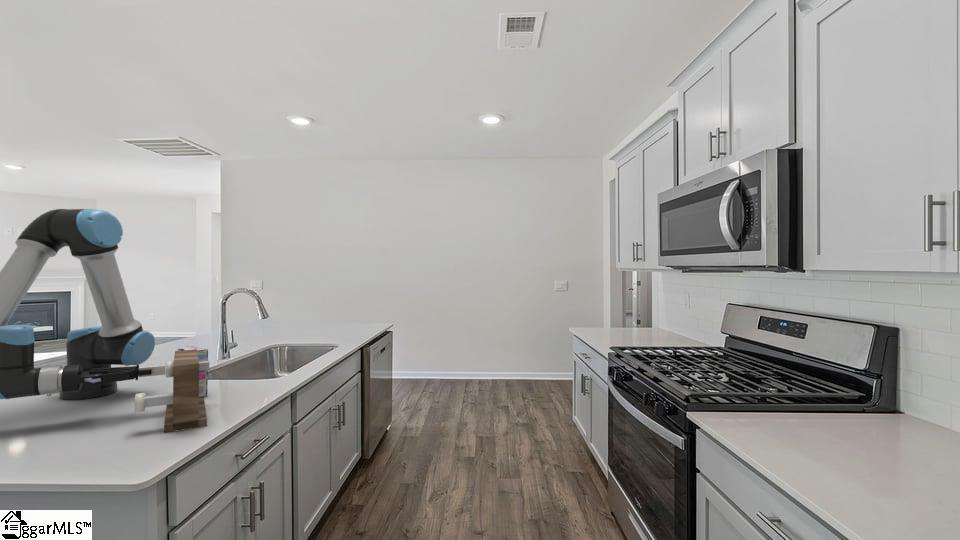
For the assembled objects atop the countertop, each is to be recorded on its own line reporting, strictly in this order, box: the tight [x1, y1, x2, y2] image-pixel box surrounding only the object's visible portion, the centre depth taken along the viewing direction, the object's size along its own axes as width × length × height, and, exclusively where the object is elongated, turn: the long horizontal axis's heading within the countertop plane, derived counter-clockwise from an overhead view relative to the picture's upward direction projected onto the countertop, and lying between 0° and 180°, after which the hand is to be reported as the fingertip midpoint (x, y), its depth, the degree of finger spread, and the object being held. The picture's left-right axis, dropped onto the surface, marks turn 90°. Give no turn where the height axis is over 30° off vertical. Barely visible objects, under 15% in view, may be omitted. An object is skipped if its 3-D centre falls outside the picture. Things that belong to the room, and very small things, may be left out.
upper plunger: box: [165, 360, 210, 378], centre depth 143 cm, size 5×12×5 cm, turn 123°
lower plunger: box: [134, 392, 173, 414], centre depth 125 cm, size 5×12×5 cm, turn 123°
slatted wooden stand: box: [163, 349, 208, 433], centre depth 135 cm, size 24×10×18 cm, turn 33°
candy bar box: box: [177, 346, 209, 398], centre depth 156 cm, size 11×5×16 cm, turn 58°
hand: (165, 369), depth 139 cm, fingers closed
